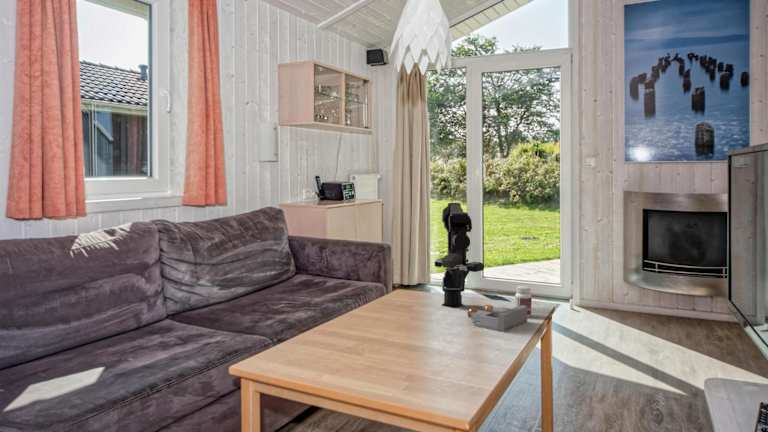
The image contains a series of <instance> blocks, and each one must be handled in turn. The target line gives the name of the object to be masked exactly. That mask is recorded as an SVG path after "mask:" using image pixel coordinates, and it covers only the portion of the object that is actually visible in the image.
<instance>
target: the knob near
mask: <svg viewBox="0 0 768 432" xmlns="http://www.w3.org/2000/svg"><path fill="white" fill-rule="evenodd" d="M480 315H485V316H490V317H493V313H492V312H487V311H484V310H482V309H481V310H480V309H477V308H476V307H469V308H468V310H467V317H468V318H469V319H471V321H475V322H480Z"/></svg>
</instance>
